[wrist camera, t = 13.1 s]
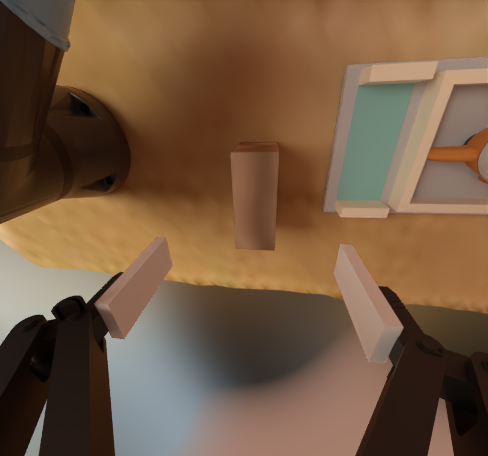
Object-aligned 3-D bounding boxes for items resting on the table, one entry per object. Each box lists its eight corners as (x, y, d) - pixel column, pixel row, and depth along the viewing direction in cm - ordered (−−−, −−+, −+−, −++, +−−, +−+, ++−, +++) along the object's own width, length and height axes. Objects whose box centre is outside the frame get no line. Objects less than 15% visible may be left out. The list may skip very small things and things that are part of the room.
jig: (322, 209, 33) (328, 220, 29) (345, 66, 24) (358, 58, 21) (495, 212, 30) (525, 225, 26) (590, 52, 21) (653, 40, 18)
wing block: (243, 218, 35) (235, 248, 27) (241, 142, 29) (230, 152, 21) (273, 219, 34) (274, 250, 27) (276, 141, 29) (279, 151, 21)
